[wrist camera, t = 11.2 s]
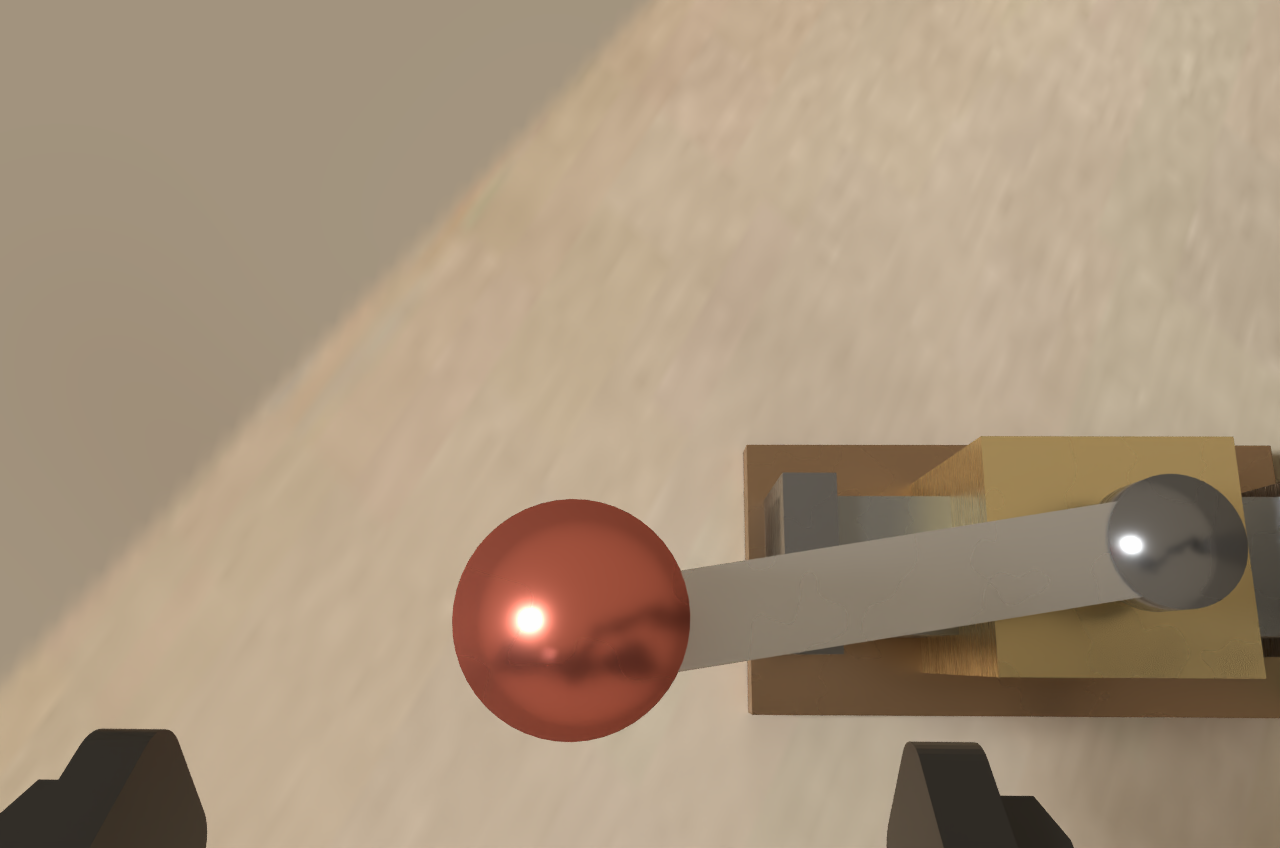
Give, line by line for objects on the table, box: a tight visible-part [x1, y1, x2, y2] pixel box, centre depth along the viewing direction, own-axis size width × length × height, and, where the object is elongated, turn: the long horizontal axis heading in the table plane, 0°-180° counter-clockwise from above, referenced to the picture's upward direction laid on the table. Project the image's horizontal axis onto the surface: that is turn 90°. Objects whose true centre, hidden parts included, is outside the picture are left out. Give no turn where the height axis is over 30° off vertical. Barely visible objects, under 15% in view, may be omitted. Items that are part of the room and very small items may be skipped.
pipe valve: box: [743, 436, 1280, 718], centre depth 26 cm, size 16×8×9 cm, turn 90°
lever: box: [452, 474, 1248, 742], centre depth 17 cm, size 15×3×9 cm, turn 99°
